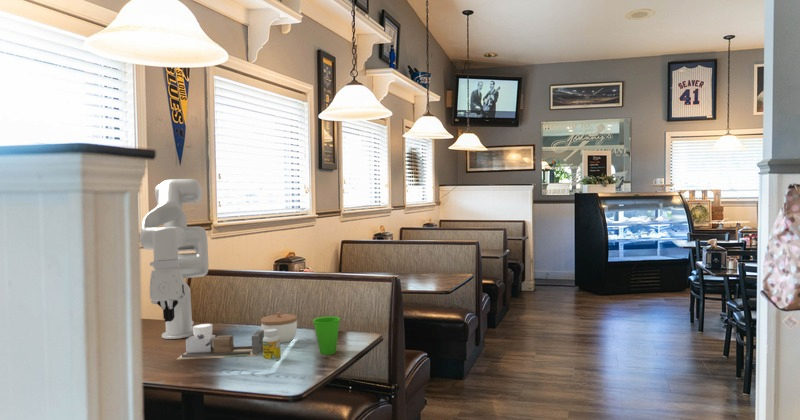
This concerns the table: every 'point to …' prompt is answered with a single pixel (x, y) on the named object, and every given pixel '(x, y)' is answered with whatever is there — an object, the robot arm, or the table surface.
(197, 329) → the shot glass
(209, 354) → the gauge bed
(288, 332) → the lidded bowl
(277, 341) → the supplement bottle
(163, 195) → the robot arm
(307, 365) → the table surface
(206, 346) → the knobbed grey slider
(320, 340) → the cup
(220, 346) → the walnut block
